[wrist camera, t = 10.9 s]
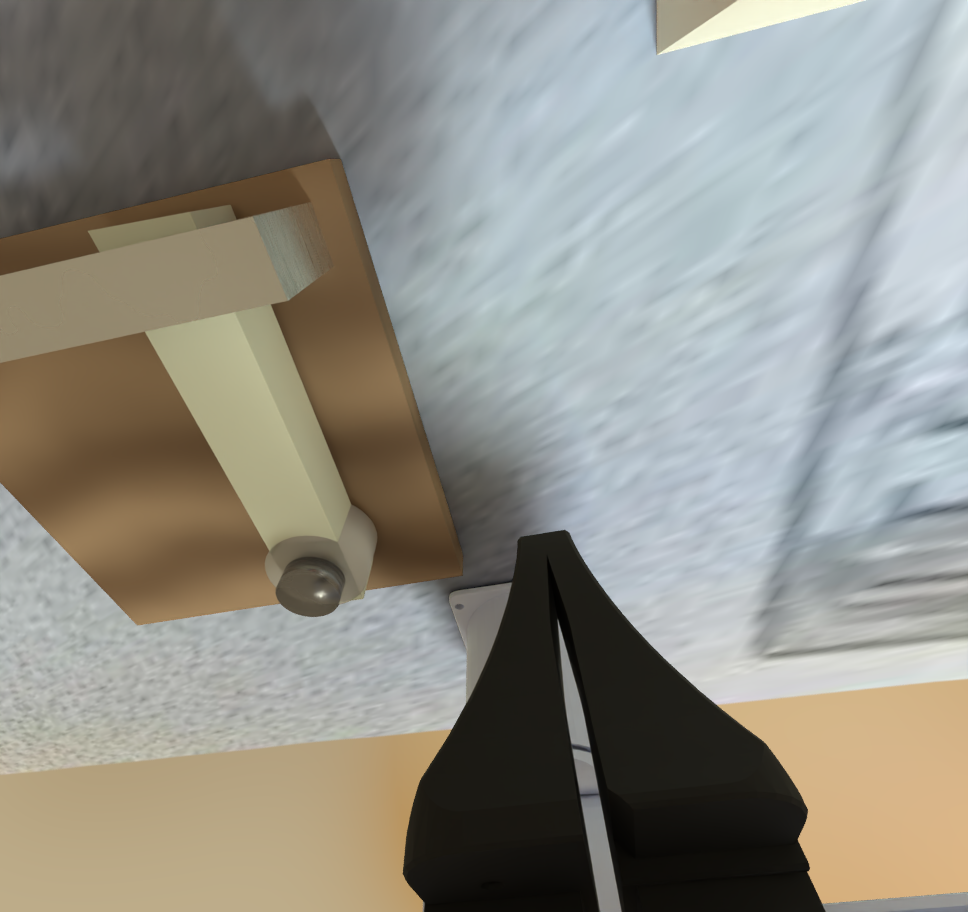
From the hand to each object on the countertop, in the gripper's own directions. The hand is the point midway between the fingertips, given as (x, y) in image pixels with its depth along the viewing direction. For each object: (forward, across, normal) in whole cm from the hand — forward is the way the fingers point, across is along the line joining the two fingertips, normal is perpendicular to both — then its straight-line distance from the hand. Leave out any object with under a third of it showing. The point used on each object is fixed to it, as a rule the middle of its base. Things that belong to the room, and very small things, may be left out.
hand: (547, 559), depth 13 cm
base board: (+9, +14, -1) cm, 17 cm away
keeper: (+8, +10, -8) cm, 15 cm away
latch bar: (+8, +10, -2) cm, 13 cm away
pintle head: (+5, +10, +4) cm, 12 cm away
